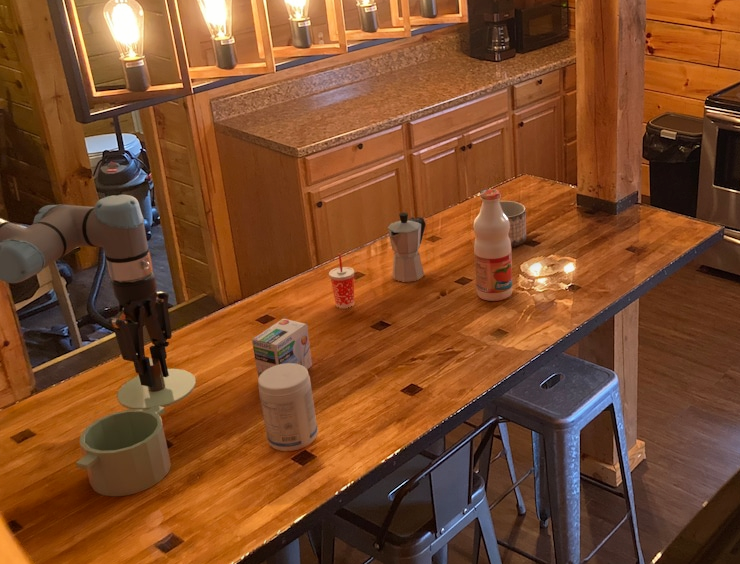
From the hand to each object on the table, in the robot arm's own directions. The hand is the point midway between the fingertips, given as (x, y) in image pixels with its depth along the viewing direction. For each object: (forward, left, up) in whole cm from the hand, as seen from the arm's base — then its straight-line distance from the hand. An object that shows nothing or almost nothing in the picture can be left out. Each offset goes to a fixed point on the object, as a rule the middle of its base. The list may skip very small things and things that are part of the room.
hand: (155, 380), depth 191 cm
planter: (+30, +104, -9) cm, 109 cm away
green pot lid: (0, 0, -2) cm, 2 cm away
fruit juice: (+41, +73, -9) cm, 84 cm away
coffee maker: (+15, +76, -9) cm, 78 cm away
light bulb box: (+14, +22, -9) cm, 27 cm away
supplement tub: (+30, +2, -9) cm, 31 cm away
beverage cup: (+8, +55, -9) cm, 56 cm away
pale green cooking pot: (+8, -17, -9) cm, 21 cm away
